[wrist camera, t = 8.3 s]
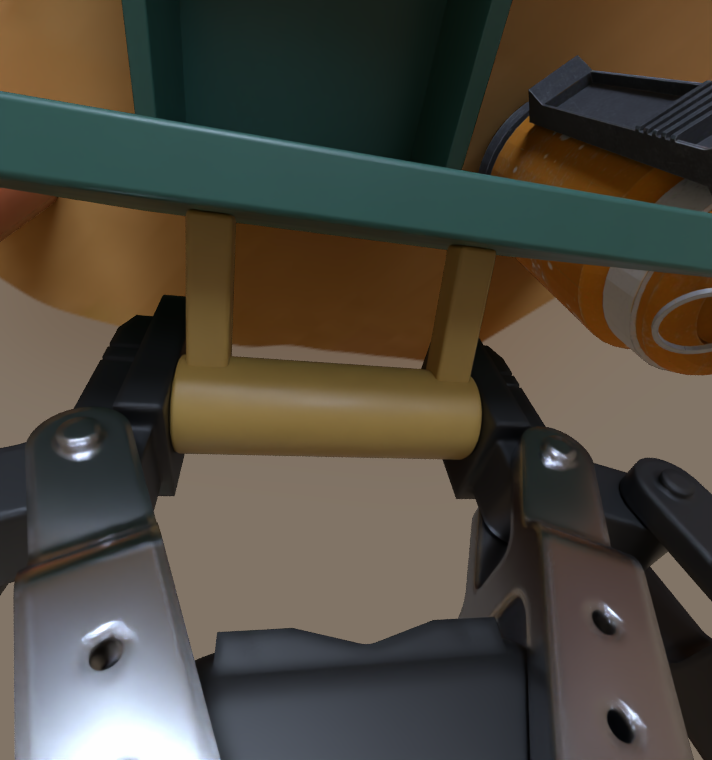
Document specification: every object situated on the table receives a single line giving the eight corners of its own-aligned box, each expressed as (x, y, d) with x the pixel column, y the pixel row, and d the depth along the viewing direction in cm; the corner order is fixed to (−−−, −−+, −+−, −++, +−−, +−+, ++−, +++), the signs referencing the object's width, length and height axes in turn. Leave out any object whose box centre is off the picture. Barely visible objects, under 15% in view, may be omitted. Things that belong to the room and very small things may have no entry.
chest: (142, -300, 15) (62, -485, 10) (500, -173, 18) (591, -261, 12) (176, 160, 24) (144, 196, 18) (411, 196, 26) (442, 237, 21)
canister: (501, 268, 30) (725, 514, 15) (433, 117, 24) (702, 270, 8) (628, 192, 28) (1052, 388, 12) (590, 1, 21) (1370, -85, 6)
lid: (-407, 18, 4) (-226, 530, 5) (834, 233, 6) (708, 520, 8) (141, 189, 18) (144, 309, 19) (446, 232, 21) (428, 333, 22)
